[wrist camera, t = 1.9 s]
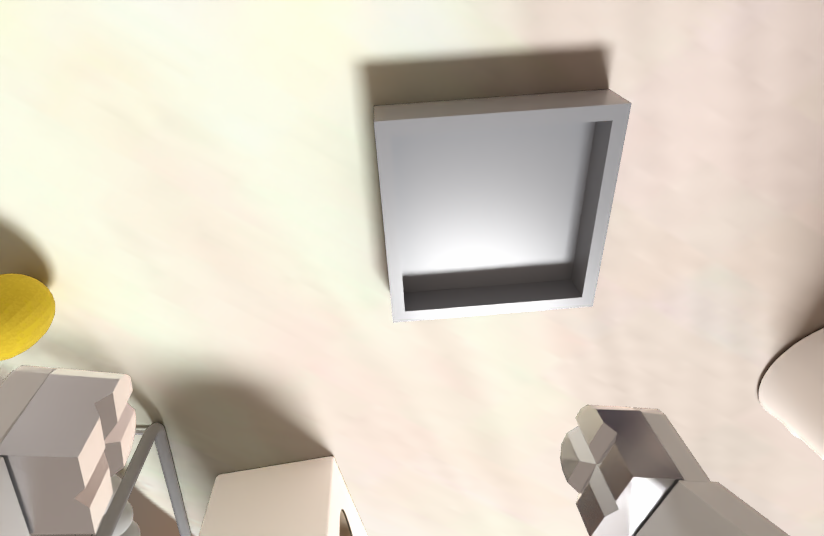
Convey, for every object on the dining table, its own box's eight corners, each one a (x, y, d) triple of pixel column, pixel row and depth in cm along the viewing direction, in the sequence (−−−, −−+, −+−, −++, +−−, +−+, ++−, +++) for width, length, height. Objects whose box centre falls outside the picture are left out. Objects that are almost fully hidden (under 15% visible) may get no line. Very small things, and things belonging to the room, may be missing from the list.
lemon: (42, 321, 41) (-22, 394, 35) (-20, 274, 38) (-103, 344, 32) (90, 292, 40) (33, 362, 33) (29, 242, 37) (-47, 307, 30)
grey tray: (609, 89, 33) (631, 103, 31) (577, 281, 42) (592, 306, 39) (373, 105, 33) (373, 121, 30) (391, 296, 42) (393, 322, 39)
